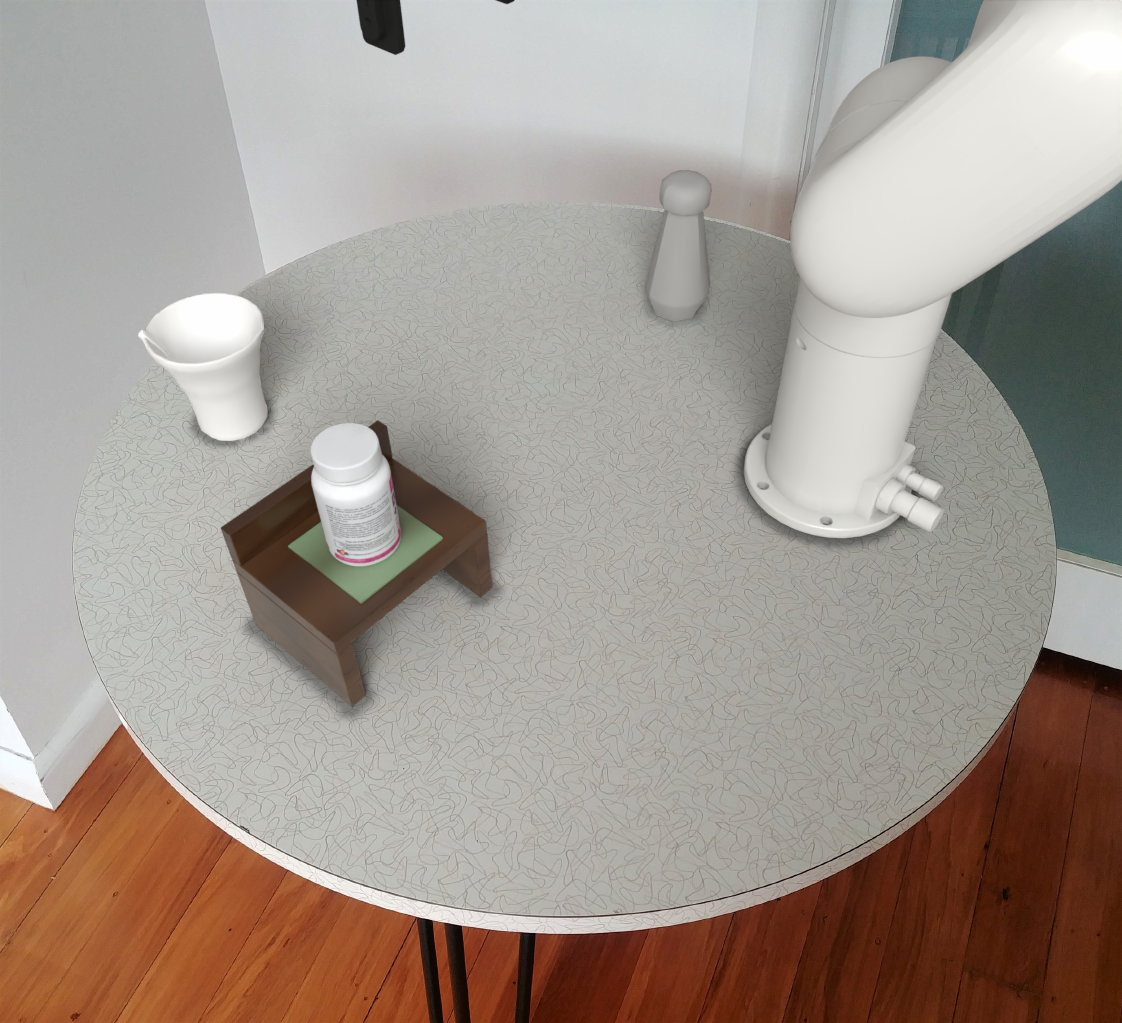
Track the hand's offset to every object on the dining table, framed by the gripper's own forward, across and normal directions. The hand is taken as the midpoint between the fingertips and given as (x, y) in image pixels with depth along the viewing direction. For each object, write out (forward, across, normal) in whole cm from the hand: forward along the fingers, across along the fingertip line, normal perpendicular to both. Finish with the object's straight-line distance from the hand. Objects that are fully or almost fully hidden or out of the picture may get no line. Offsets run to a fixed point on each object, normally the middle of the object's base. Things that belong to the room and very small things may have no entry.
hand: (441, 21), depth 67 cm
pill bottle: (+23, -21, -11) cm, 33 cm away
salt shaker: (+31, +20, -6) cm, 37 cm away
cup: (+31, -16, +12) cm, 36 cm away
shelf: (+30, -21, -11) cm, 38 cm away
